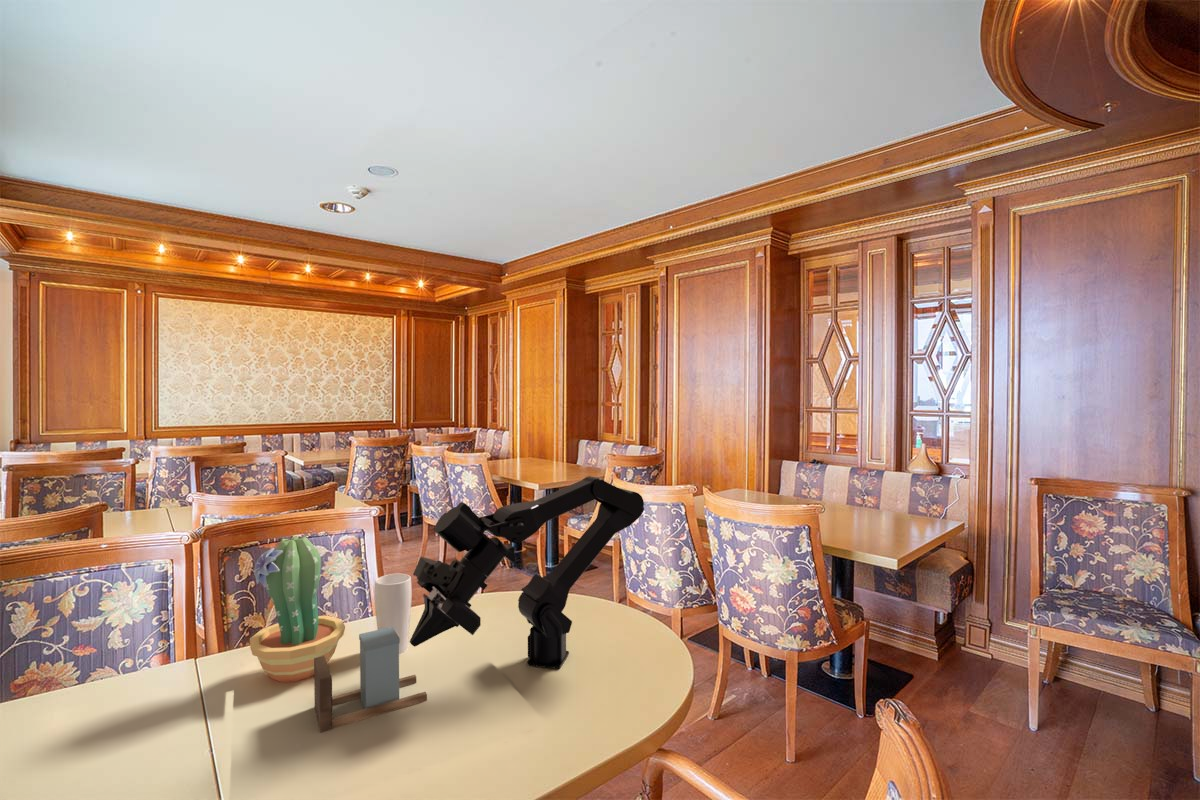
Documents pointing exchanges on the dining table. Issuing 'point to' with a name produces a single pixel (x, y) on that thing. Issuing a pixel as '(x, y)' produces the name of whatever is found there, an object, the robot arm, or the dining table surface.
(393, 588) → the drinking glass
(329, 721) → the track
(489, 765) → the dining table surface
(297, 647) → the potted cactus
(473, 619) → the robot arm
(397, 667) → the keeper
